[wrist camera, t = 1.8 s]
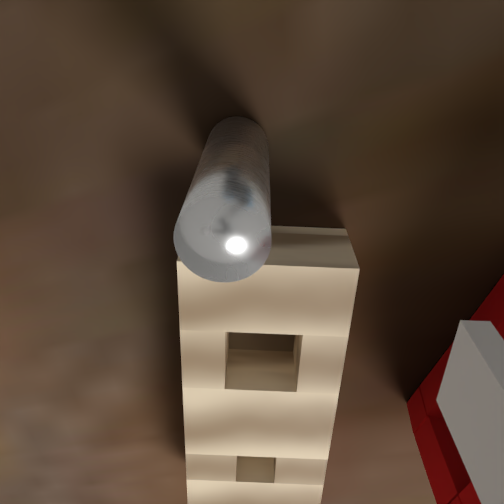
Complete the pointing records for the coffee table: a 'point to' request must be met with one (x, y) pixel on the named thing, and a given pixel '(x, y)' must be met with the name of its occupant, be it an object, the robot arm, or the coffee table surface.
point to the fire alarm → (434, 425)
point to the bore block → (266, 370)
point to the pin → (228, 205)
